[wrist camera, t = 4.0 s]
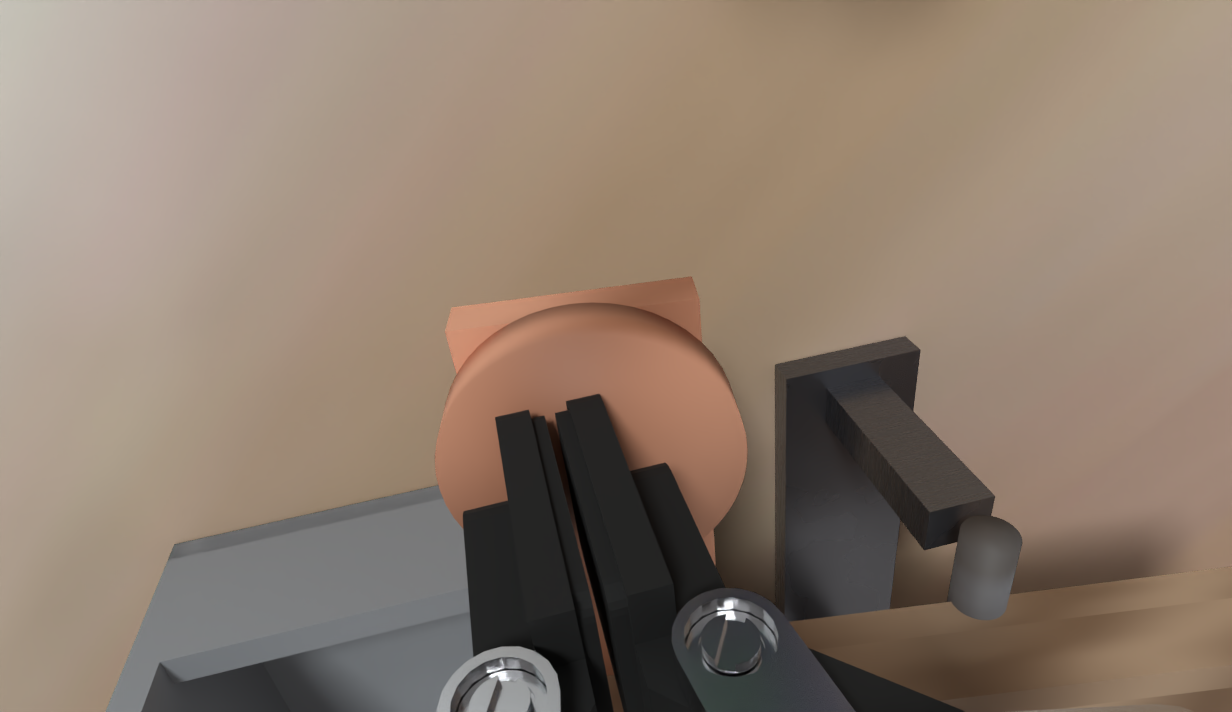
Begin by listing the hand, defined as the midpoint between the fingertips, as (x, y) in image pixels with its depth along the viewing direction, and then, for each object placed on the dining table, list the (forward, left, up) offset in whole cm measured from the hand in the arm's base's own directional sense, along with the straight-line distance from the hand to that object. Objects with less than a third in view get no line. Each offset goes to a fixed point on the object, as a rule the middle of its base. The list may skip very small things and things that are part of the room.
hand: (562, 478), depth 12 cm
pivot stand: (-9, +12, -8) cm, 16 cm away
